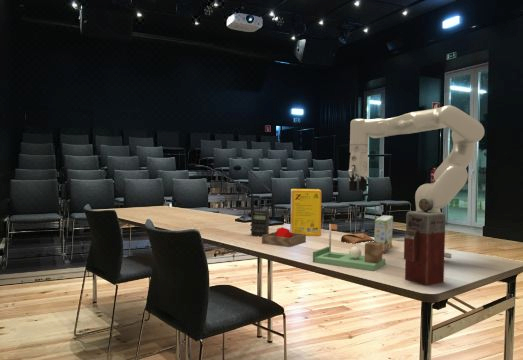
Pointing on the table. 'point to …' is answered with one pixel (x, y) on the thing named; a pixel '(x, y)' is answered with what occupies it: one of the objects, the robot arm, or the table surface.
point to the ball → (355, 252)
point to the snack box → (384, 231)
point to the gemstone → (283, 233)
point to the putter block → (373, 252)
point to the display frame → (284, 239)
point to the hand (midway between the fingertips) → (357, 190)
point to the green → (343, 257)
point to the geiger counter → (259, 223)
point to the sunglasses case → (356, 238)
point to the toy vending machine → (424, 245)
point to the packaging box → (306, 211)
